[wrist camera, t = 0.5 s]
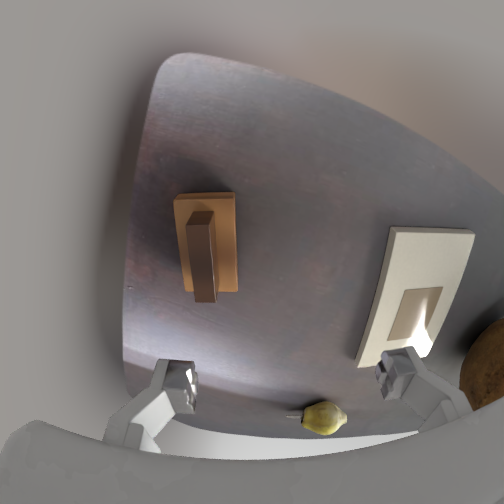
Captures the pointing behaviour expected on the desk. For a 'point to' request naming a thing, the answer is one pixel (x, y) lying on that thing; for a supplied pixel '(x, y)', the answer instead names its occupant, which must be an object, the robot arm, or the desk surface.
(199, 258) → the brush
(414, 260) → the tile
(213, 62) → the desk surface
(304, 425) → the fruit
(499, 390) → the bowl
